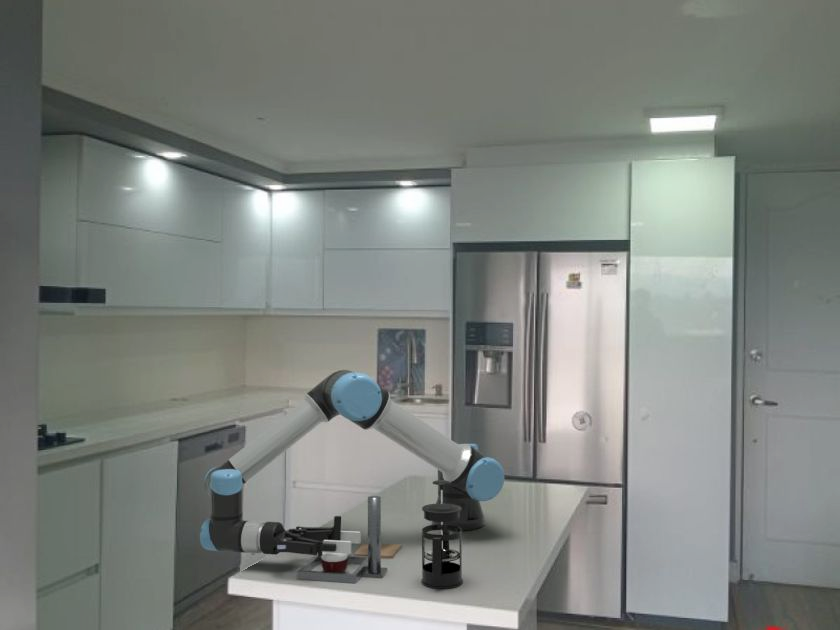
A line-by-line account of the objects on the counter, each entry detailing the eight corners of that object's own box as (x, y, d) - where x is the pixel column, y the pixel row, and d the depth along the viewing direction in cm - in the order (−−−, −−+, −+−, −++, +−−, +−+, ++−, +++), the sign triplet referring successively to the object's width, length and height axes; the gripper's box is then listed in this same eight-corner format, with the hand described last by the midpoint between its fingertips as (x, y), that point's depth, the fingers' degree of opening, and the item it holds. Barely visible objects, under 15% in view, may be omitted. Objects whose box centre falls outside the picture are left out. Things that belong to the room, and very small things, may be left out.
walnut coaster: (401, 546, 207) (401, 544, 207) (392, 558, 197) (392, 556, 197) (364, 544, 209) (364, 542, 209) (354, 556, 199) (354, 553, 199)
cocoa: (336, 582, 181) (336, 530, 180) (313, 577, 184) (313, 526, 183) (357, 567, 190) (357, 518, 189) (334, 563, 193) (334, 514, 192)
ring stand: (391, 565, 192) (391, 490, 192) (377, 584, 178) (376, 504, 178) (317, 560, 196) (316, 487, 196) (297, 579, 182) (296, 501, 182)
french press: (426, 573, 186) (426, 475, 186) (466, 575, 184) (465, 476, 184) (415, 590, 175) (415, 486, 174) (457, 593, 173) (457, 487, 172)
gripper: (279, 541, 201) (367, 545, 196) (247, 566, 181) (343, 572, 177) (279, 511, 201) (366, 515, 196) (246, 533, 181) (342, 538, 177)
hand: (355, 542), depth 187 cm, fingers closed on cocoa, 7 cm apart
